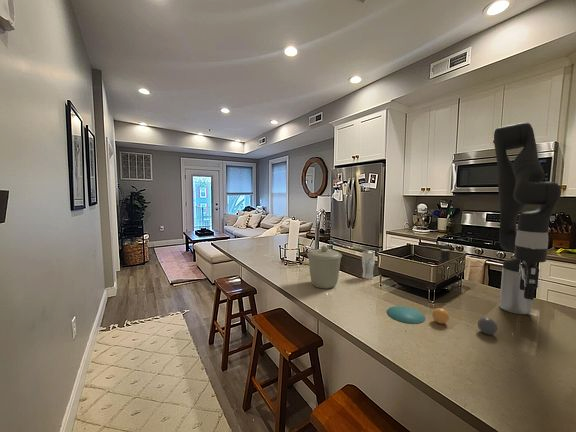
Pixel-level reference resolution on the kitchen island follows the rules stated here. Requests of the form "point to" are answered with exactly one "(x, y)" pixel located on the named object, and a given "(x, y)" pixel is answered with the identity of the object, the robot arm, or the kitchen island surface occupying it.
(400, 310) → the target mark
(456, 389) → the kitchen island surface
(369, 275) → the beer glass
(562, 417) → the kitchen island surface
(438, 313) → the object ball
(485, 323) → the blue-grey ball
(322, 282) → the canister
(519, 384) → the kitchen island surface
